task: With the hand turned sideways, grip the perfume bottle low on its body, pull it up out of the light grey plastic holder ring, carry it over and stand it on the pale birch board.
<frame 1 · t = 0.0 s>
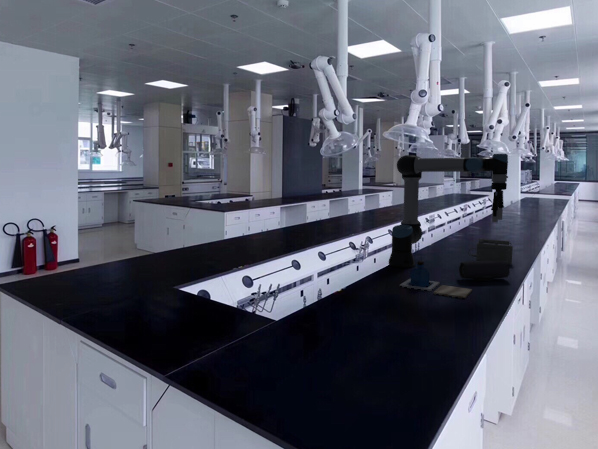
hand: (497, 221, 241), 28 cm above the lab bench, tool pointing down, fingers open, 13 cm apart
holder ring: (419, 285, 217), on the lab bench
birch board: (452, 292, 204), on the lab bench
geiger counter: (489, 262, 268), on the lab bench
bluetooth speaker: (483, 280, 227), on the lab bench
perfume bottle: (419, 286, 217), resting in holder ring
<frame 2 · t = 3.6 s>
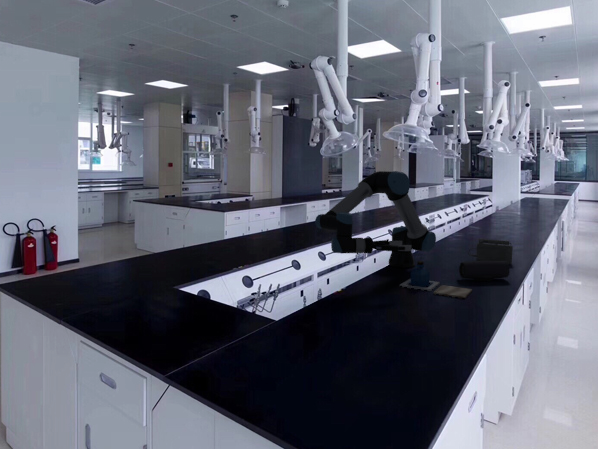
hand: (406, 245, 214), 20 cm above the lab bench, tool horizontal, fingers open, 13 cm apart
nothing on the lab bench moved.
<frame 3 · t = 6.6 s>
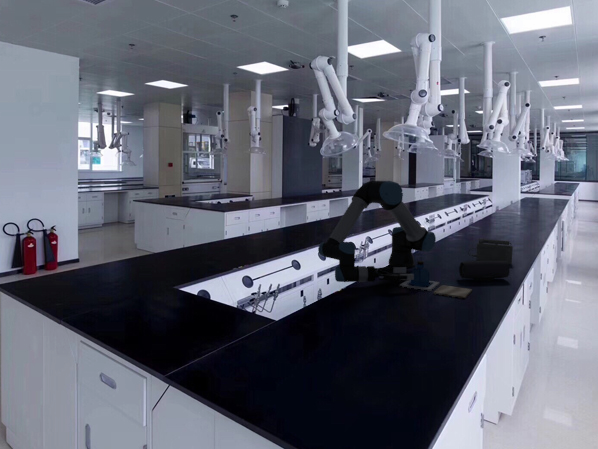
hand: (409, 273, 215), 6 cm above the lab bench, tool horizontal, fingers open, 13 cm apart
nothing on the lab bench moved.
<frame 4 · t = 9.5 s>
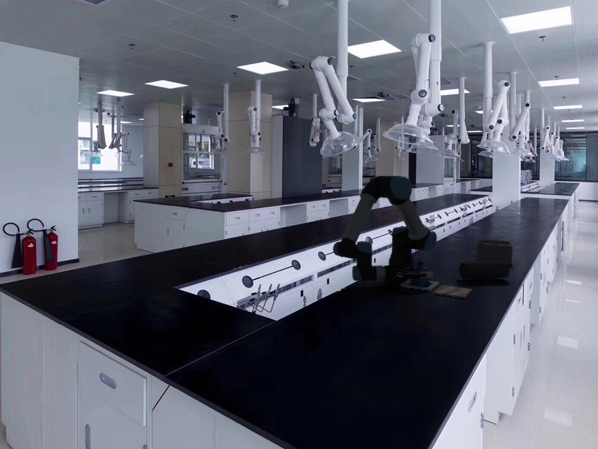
hand: (429, 272, 216), 7 cm above the lab bench, tool horizontal, fingers closed on perfume bottle, 8 cm apart
perfume bottle: (419, 285, 217), resting in holder ring, touching gripper
everything else where it was.
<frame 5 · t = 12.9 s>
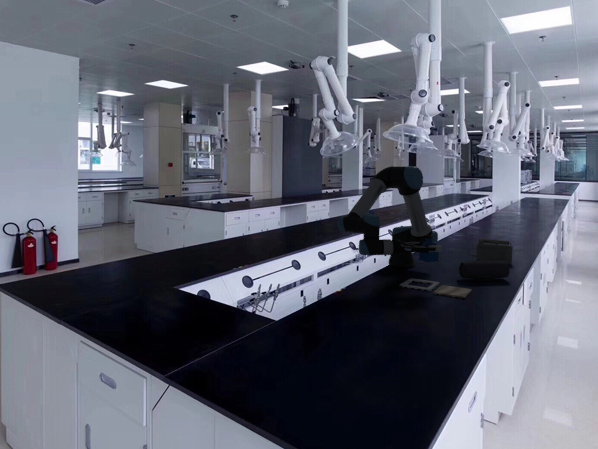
hand: (439, 246, 209), 20 cm above the lab bench, tool horizontal, fingers closed on perfume bottle, 8 cm apart
perfume bottle: (428, 260, 210), point 13 cm above the lab bench, touching gripper
everything else where it was.
when the fingers open (9 cm above the lab bench, at t = 16.7 s): perfume bottle drops 1 cm, resting on birch board.
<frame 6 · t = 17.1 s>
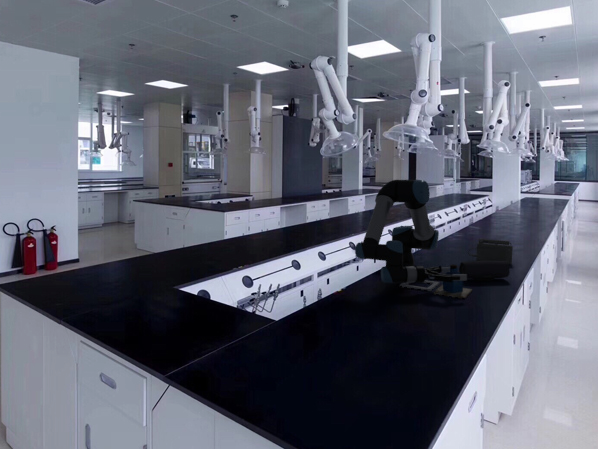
hand: (460, 273, 203), 9 cm above the lab bench, tool horizontal, fingers open, 13 cm apart
perfume bottle: (452, 291, 204), point 1 cm above the lab bench, touching birch board
everything else where it was.
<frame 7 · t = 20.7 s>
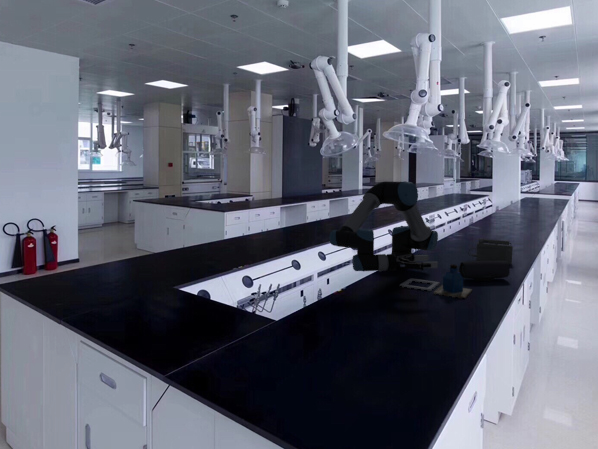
hand: (432, 261, 201), 15 cm above the lab bench, tool horizontal, fingers open, 13 cm apart
nothing on the lab bench moved.
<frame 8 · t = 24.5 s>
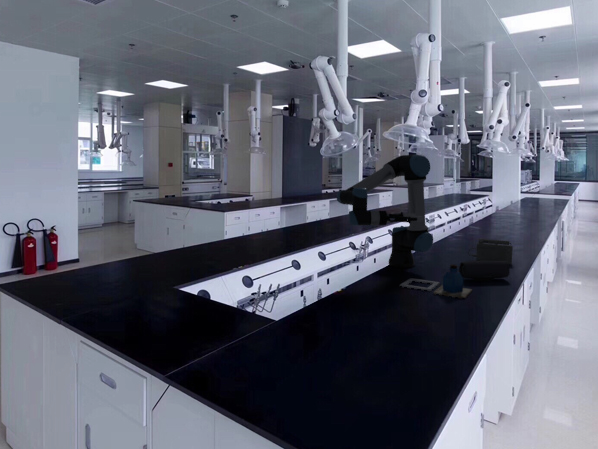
hand: (419, 217, 228), 32 cm above the lab bench, tool horizontal, fingers open, 13 cm apart
nothing on the lab bench moved.
at the end: perfume bottle inside the target area on the birch board (0.1 cm from its centre), point 0.8 cm above the birch board's base; perfume bottle tilted 0°; the gripper is holding nothing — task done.
